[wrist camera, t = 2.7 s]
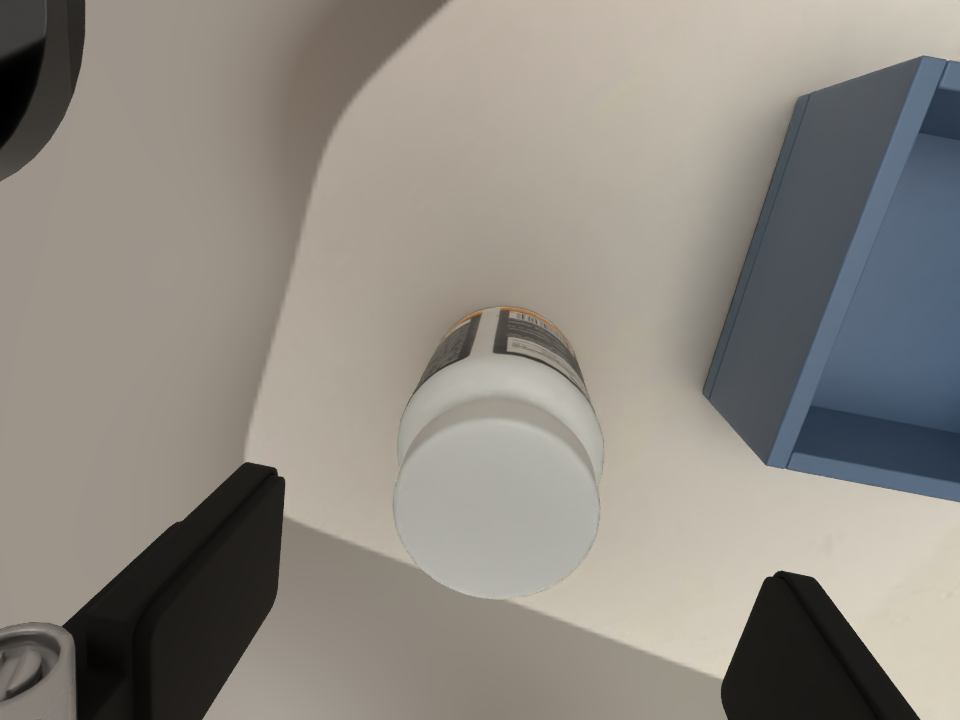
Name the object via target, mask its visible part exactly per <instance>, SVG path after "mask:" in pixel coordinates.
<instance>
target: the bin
mask: <svg viewBox="0 0 960 720" xmlns="http://www.w3.org/2000/svg"><path fill="white" fill-rule="evenodd" d="M703 395H704V396H705V397H706V398H707V399H708V400H709V402H710V403H711V404H712V405H713V406H714V407H715V409H716V410H717V411H718V412H719V413H720V414H721V415H722V416H723V418H724V419H725V420H726V421H727V422H728V423H729V424H730V425H731V427H732V428H733V429H734V430H735V431H736V432H737V433H738V435H739V436H740V437H741V438H742V439H743V440H744V441H745V442H746V444H747V445H748V446H749V447H750V448H751V449H752V450H753V451H754V453H755V454H756V455H757V456H758V457H759V458H760V459H761V460H762V462H763V463H764V464H765V465H767V466H772V467H777V468H782V469H785V468H786V469H788V470H793V471H798V472H803V473H809V474H814V475H819V476H825V477H830V478H835V479H840V480H846V481H851V482H856V483H861V484H867V485H872V486H877V487H882V488H888V489H893V490H898V491H903V492H909V493H914V494H919V495H924V496H930V497H935V498H940V499H945V500H951V501H956V502H960V62H956V61H951V60H950V61H947V60H945V59H940V58H934V57H929V56H921V57H918V58H915V59H912V60H909V61H906V62H903V63H899V64H896V65H893V66H890V67H887V68H884V69H881V70H878V71H875V72H872V73H869V74H866V75H863V76H860V77H857V78H854V79H851V80H848V81H845V82H842V83H839V84H836V85H833V86H830V87H827V88H824V89H821V90H818V91H815V92H812V93H810V94H807V95H804V96H800V97H799V99H798V102H797V105H796V108H795V111H794V114H793V118H792V121H791V124H790V127H789V130H788V133H787V136H786V139H785V142H784V145H783V148H782V151H781V154H780V157H779V160H778V163H777V167H776V170H775V173H774V176H773V179H772V182H771V185H770V188H769V191H768V194H767V197H766V200H765V203H764V206H763V209H762V212H761V215H760V219H759V222H758V225H757V228H756V231H755V234H754V237H753V240H752V243H751V246H750V249H749V252H748V255H747V258H746V261H745V264H744V268H743V271H742V274H741V277H740V280H739V283H738V286H737V289H736V292H735V295H734V298H733V301H732V304H731V307H730V310H729V313H728V317H727V320H726V323H725V326H724V329H723V332H722V335H721V338H720V341H719V344H718V347H717V350H716V353H715V356H714V359H713V362H712V366H711V369H710V372H709V375H708V378H707V381H706V384H705V387H704V390H703Z"/></svg>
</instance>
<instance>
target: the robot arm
mask: <svg viewBox="0 0 960 720" xmlns="http://www.w3.org/2000/svg"><path fill="white" fill-rule="evenodd" d="M284 495H285V479H284V478H283V477H280V476H278V472H277V469H276V468H274V467H269V466H264V465H259V464H254V463H249V462H246V463H244V464H243V465H241V466H240V467H239V468H238V469H237V470H236V471H235V472H234V473H233V474H232V475H231V476H230V477H229V478H228V479H227V480H226V481H224V482H223V483H222V484H221V485H220V486H219V487H218V488H217V489H216V490H215V491H214V492H213V493H212V494H211V495H210V496H208V498H206V499H205V500H204V501H203V502H202V503H201V504H200V505H199V506H198V507H197V508H196V509H195V510H194V511H192V512H191V513H190V514H189V515H188V516H187V517H186V518H185V519H184V520H183V521H180V522H176V523H175V524H173V525H172V526H170V527H169V528H168V529H167V530H166V531H165V532H164V533H163V534H161V536H159V537H158V538H157V539H156V540H155V541H154V542H153V543H152V544H151V545H150V546H148V547H147V548H146V549H145V550H144V551H143V552H142V553H141V554H140V555H139V556H138V557H137V558H135V559H134V560H133V561H132V562H131V563H130V564H129V565H128V566H127V567H126V568H125V569H124V570H122V571H121V572H120V573H119V574H118V575H117V576H116V577H115V578H114V579H113V580H112V581H111V582H109V584H107V585H106V586H105V587H104V588H103V589H102V590H101V591H100V592H99V593H98V594H96V595H95V596H94V597H93V598H92V599H91V600H90V601H89V602H88V603H87V604H86V605H85V606H84V607H82V608H81V609H80V610H79V611H78V612H77V613H76V614H75V615H74V616H73V617H72V618H70V619H69V620H68V621H67V622H66V623H65V624H64V625H63V626H62V627H61V626H58V625H54V624H51V623H39V622H38V623H36V622H30V623H23V624H17V625H12V626H8V627H5V628H2V629H0V720H202V719H203V717H204V716H205V714H206V713H207V711H208V709H209V708H210V706H211V705H212V703H213V701H214V700H215V698H216V696H217V695H218V693H219V692H220V690H221V688H222V687H223V685H224V684H225V682H226V681H227V679H228V677H229V676H230V674H231V673H232V671H233V669H234V668H235V666H236V665H237V663H238V661H239V660H240V658H241V656H242V655H243V653H244V652H245V650H246V649H247V647H248V645H249V644H250V642H251V640H252V639H253V637H254V636H255V634H256V632H257V631H258V629H259V628H260V626H261V624H262V623H263V621H264V620H265V618H266V616H267V615H268V613H269V612H270V610H271V608H272V606H273V604H274V601H275V598H276V595H277V590H278V578H279V577H278V576H279V564H280V550H281V536H282V522H283V509H284ZM721 699H722V704H723V708H724V710H725V713H726V715H727V718H728V720H920V718H919V717H918V716H917V714H916V713H915V712H914V710H913V709H912V708H911V706H910V705H909V704H908V702H907V701H906V700H905V698H904V697H903V696H902V694H901V693H900V692H899V690H898V689H897V688H896V686H895V685H894V684H893V682H892V681H891V680H890V678H889V677H888V675H887V674H886V673H885V671H884V670H883V669H882V667H881V666H880V665H879V663H878V662H877V661H876V659H875V658H874V657H873V655H872V654H871V653H870V651H869V650H868V649H867V647H866V646H865V645H864V643H863V642H862V641H861V639H860V638H859V636H858V635H857V634H856V632H855V631H854V630H853V628H852V627H851V626H850V624H849V623H848V622H847V620H846V619H845V618H844V616H843V615H842V614H841V612H840V611H839V610H838V608H837V607H836V606H835V604H834V603H833V602H832V600H831V599H830V597H829V596H828V595H827V593H826V592H825V591H824V589H823V588H822V587H821V585H820V584H819V583H818V582H817V581H816V580H815V579H814V578H812V577H810V576H805V575H800V574H795V573H790V572H785V571H778V572H777V573H775V574H774V576H773V577H767V578H766V579H765V580H764V582H763V584H762V586H761V589H760V591H759V594H758V596H757V599H756V601H755V604H754V606H753V609H752V611H751V613H750V616H749V618H748V621H747V623H746V626H745V628H744V631H743V633H742V636H741V638H740V640H739V643H738V645H737V648H736V650H735V653H734V655H733V658H732V660H731V663H730V665H729V667H728V670H727V672H726V675H725V677H724V680H723V682H722V687H721Z"/></svg>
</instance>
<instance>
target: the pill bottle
mask: <svg viewBox="0 0 960 720" xmlns="http://www.w3.org/2000/svg"><path fill="white" fill-rule="evenodd" d="M397 450H398V461H399V466H400V471H399V474H398V477H397V480H396V483H395V488H394V495H393V513H394V520H395V525H396V529H397V532H398V535H399V537H400V540H401V542H402V544H403V546H404V548H405V549H406V551H407V552H408V554H409V555H410V556H411V558H412V559H413V560H414V562H415V563H416V564H417V565H418V566H419V567H420V568H421V569H422V570H423V571H424V572H426V573H427V574H428V575H429V576H430V577H431V578H433V579H434V580H436V581H437V582H439V583H441V584H442V585H444V586H446V587H448V588H451V589H453V590H456V591H458V592H460V593H463V594H467V595H470V596H474V597H479V598H486V599H512V598H520V597H524V596H529V595H532V594H535V593H538V592H541V591H543V590H546V589H548V588H550V587H552V586H554V585H555V584H557V583H559V582H560V581H562V580H563V579H564V578H566V577H567V576H568V575H569V574H571V573H572V572H573V571H574V570H575V569H576V568H577V567H578V566H579V565H580V563H581V562H582V561H583V559H584V558H585V557H586V555H587V554H588V552H589V550H590V548H591V546H592V544H593V542H594V539H595V537H596V534H597V530H598V525H599V519H600V500H599V493H598V488H597V487H598V484H599V481H600V478H601V474H602V468H603V460H604V440H603V435H602V431H601V428H600V425H599V423H598V420H597V417H596V414H595V411H594V408H593V406H592V403H591V401H590V398H589V395H588V393H587V389H586V386H585V383H584V380H583V376H582V373H581V370H580V368H579V365H578V363H577V360H576V357H575V354H574V352H573V350H572V348H571V346H570V344H569V342H568V341H567V339H566V338H565V337H564V335H563V334H562V333H561V332H560V330H558V329H557V327H556V326H554V325H553V324H552V323H551V322H549V321H548V320H546V319H545V318H543V317H542V316H540V315H538V314H536V313H534V312H531V311H528V310H525V309H520V308H514V307H493V308H488V309H484V310H480V311H478V312H475V313H473V314H471V315H469V316H467V317H465V318H464V319H462V320H461V321H460V322H458V323H457V324H456V325H454V326H453V327H452V328H451V329H450V330H449V332H448V333H447V334H446V335H445V337H444V338H443V339H442V341H441V343H440V344H439V346H438V347H437V349H436V351H435V353H434V355H433V357H432V358H431V360H430V362H429V364H428V366H427V368H426V370H425V371H424V373H423V375H422V377H421V379H420V381H419V383H418V385H417V387H416V389H415V391H414V393H413V395H412V396H411V398H410V400H409V402H408V404H407V406H406V408H405V410H404V413H403V415H402V418H401V421H400V426H399V433H398V447H397Z"/></svg>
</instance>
